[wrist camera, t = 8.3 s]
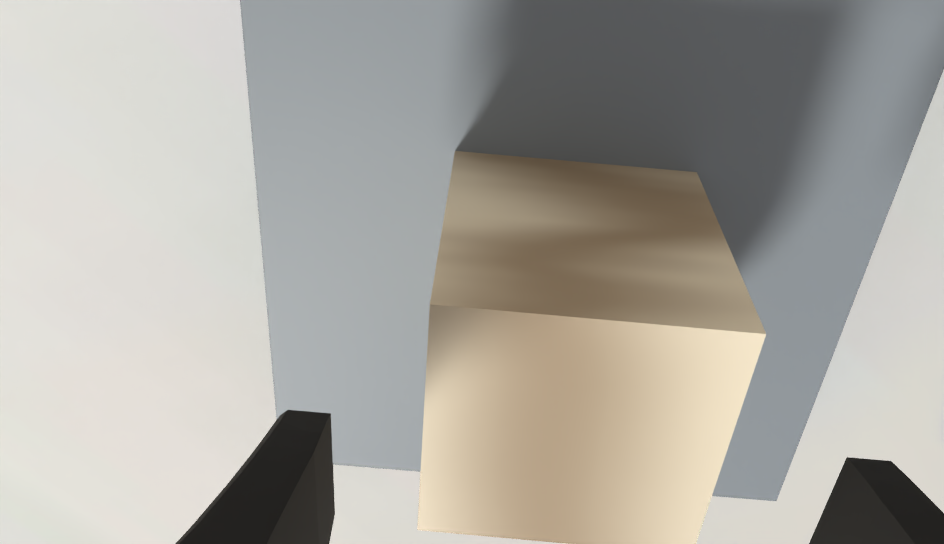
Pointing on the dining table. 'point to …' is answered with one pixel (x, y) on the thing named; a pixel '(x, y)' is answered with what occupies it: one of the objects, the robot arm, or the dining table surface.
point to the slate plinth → (581, 140)
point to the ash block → (580, 354)
